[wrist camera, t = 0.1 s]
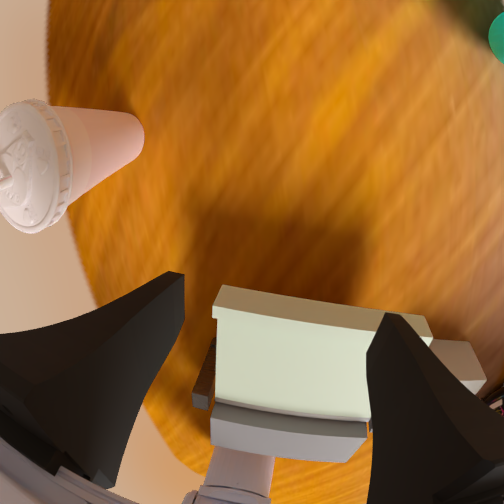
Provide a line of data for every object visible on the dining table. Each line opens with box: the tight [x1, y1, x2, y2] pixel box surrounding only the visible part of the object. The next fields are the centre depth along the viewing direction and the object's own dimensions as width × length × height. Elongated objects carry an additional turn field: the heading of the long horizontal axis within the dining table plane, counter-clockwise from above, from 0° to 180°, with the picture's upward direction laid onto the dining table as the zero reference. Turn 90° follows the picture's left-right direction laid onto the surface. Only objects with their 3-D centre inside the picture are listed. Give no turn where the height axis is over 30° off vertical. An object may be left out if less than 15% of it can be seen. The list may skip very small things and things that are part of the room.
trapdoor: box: [210, 284, 433, 463], centre depth 19 cm, size 16×12×4 cm
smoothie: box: [0, 99, 144, 233], centre depth 12 cm, size 6×6×14 cm
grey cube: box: [429, 339, 487, 395], centre depth 20 cm, size 5×5×5 cm
